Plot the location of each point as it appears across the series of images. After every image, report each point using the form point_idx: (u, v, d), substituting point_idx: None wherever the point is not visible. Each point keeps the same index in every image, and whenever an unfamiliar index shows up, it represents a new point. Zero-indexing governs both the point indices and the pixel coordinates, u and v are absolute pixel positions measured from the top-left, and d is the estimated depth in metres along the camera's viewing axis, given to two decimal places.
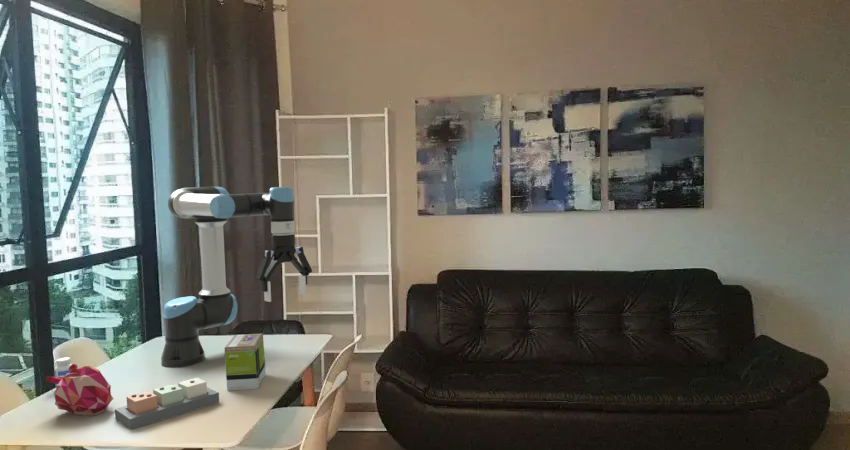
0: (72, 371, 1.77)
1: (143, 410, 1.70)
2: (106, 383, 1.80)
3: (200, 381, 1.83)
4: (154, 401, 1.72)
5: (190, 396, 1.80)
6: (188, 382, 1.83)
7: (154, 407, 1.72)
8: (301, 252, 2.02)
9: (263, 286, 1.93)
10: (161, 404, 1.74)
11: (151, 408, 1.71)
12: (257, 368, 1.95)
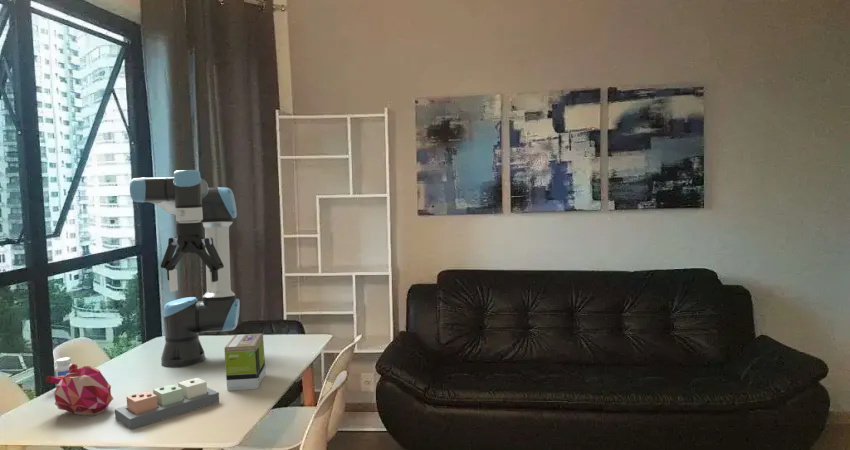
0: (72, 371, 1.77)
1: (143, 410, 1.70)
2: (106, 383, 1.80)
3: (200, 381, 1.83)
4: (154, 401, 1.72)
5: (190, 396, 1.80)
6: (188, 382, 1.83)
7: (154, 407, 1.72)
8: (205, 244, 1.79)
9: None
10: (161, 404, 1.74)
11: (151, 408, 1.71)
12: (257, 368, 1.95)
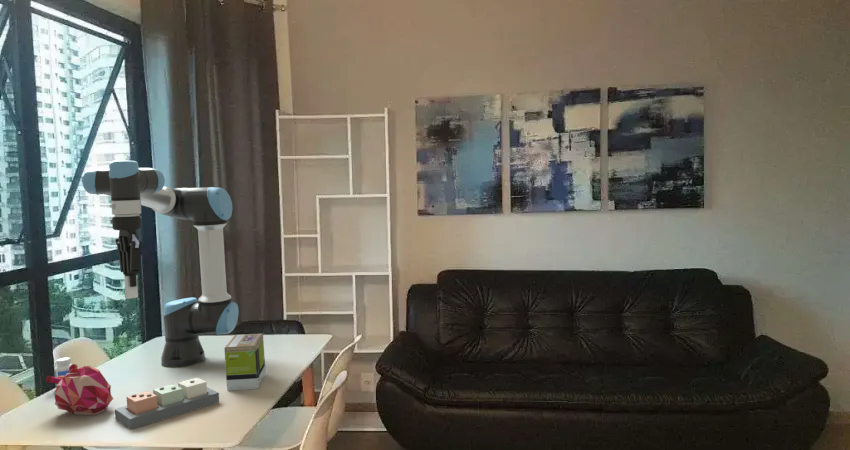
0: (72, 371, 1.77)
1: (143, 410, 1.70)
2: (106, 383, 1.80)
3: (200, 381, 1.83)
4: (154, 401, 1.72)
5: (190, 396, 1.80)
6: (188, 382, 1.83)
7: (154, 407, 1.72)
8: (131, 246, 1.67)
9: None
10: (161, 404, 1.74)
11: (151, 408, 1.71)
12: (257, 368, 1.95)
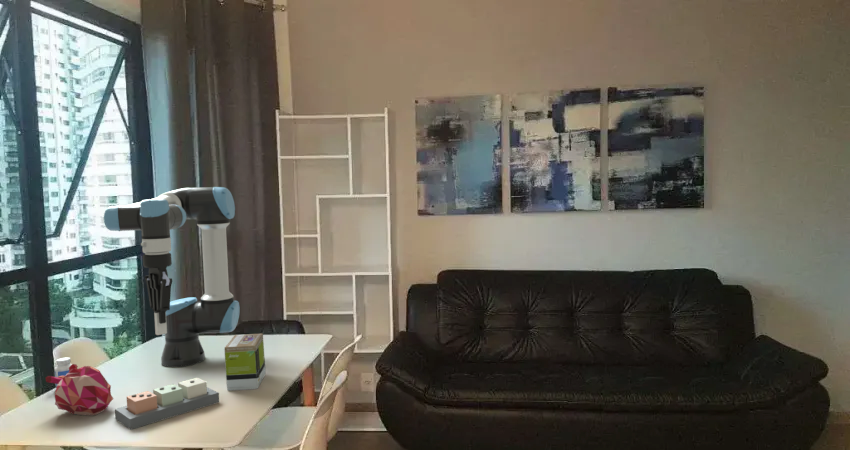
0: (72, 371, 1.77)
1: (143, 410, 1.70)
2: (106, 383, 1.80)
3: (200, 381, 1.83)
4: (154, 401, 1.72)
5: (190, 396, 1.80)
6: (188, 382, 1.83)
7: (154, 407, 1.72)
8: (161, 284, 1.70)
9: None
10: (161, 404, 1.74)
11: (151, 408, 1.71)
12: (257, 368, 1.95)
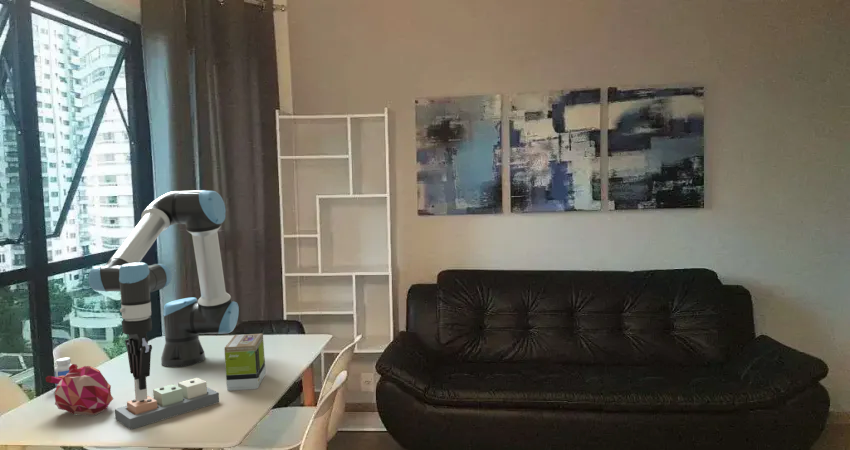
0: (72, 371, 1.77)
1: None
2: (106, 383, 1.80)
3: (200, 381, 1.83)
4: (154, 406, 1.72)
5: (190, 396, 1.80)
6: (188, 382, 1.83)
7: None
8: (141, 351, 1.67)
9: None
10: (161, 404, 1.74)
11: None
12: (257, 368, 1.95)
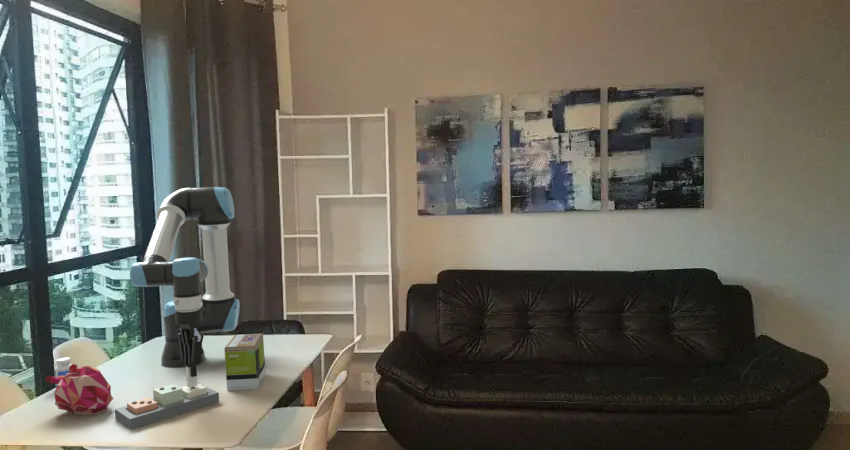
0: (72, 371, 1.77)
1: None
2: (106, 383, 1.80)
3: (200, 387, 1.83)
4: (154, 408, 1.72)
5: None
6: (188, 388, 1.83)
7: None
8: (193, 340, 1.78)
9: None
10: (161, 404, 1.74)
11: None
12: (257, 368, 1.95)
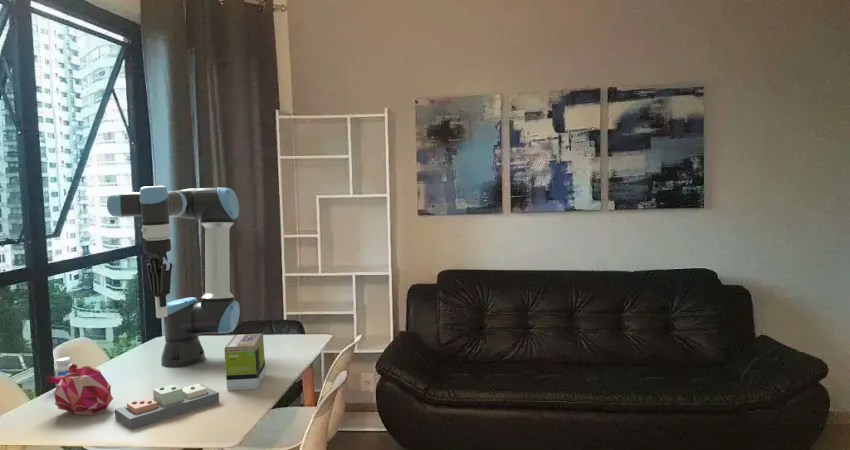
0: (72, 371, 1.77)
1: None
2: (106, 383, 1.80)
3: (200, 388, 1.83)
4: (154, 408, 1.72)
5: None
6: (188, 388, 1.83)
7: None
8: (162, 269, 1.75)
9: None
10: (161, 404, 1.74)
11: None
12: (257, 368, 1.95)
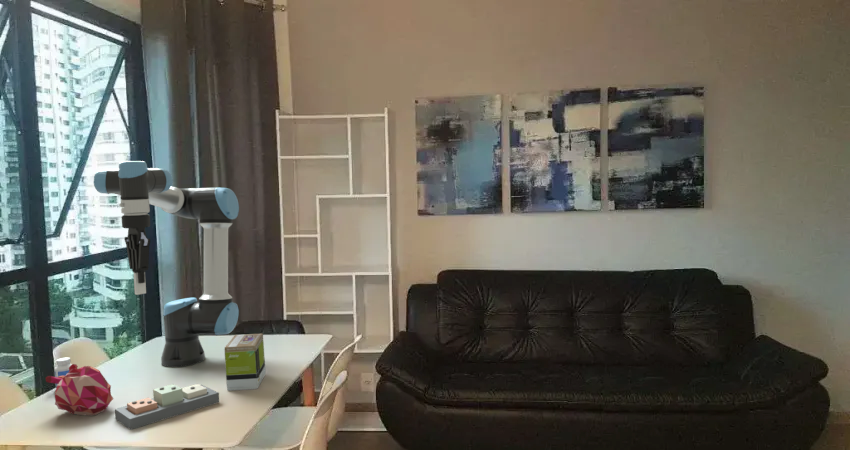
0: (72, 371, 1.77)
1: None
2: (106, 383, 1.80)
3: (200, 388, 1.83)
4: (154, 408, 1.72)
5: None
6: (188, 388, 1.83)
7: None
8: (139, 244, 1.73)
9: None
10: (161, 404, 1.74)
11: None
12: (257, 368, 1.95)
